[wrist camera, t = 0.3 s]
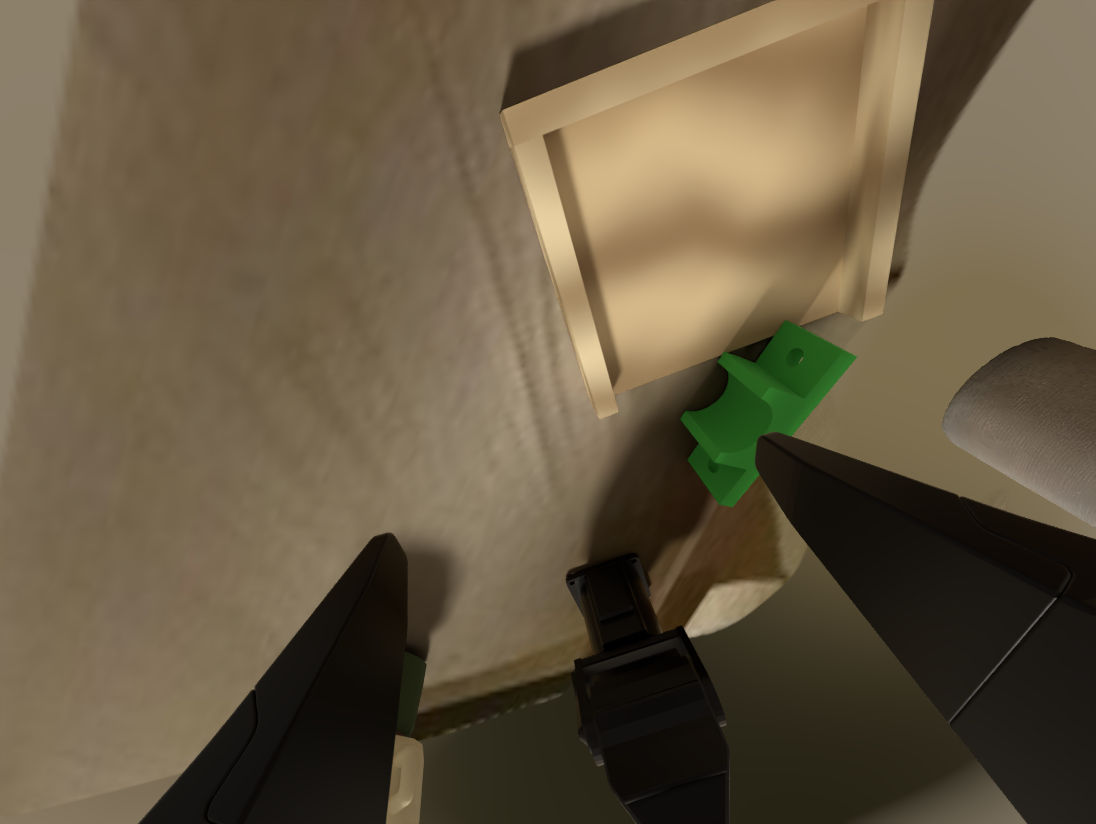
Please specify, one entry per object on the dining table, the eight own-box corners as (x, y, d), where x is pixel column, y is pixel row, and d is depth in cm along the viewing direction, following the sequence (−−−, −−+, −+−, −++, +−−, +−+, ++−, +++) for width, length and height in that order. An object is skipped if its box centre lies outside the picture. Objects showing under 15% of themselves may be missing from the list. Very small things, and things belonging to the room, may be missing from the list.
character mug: (387, 618, 33) (348, 842, 22) (459, 639, 36) (455, 842, 25) (322, 682, 36) (260, 904, 25) (394, 695, 40) (366, 897, 29)
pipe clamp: (752, 305, 23) (808, 335, 19) (796, 324, 24) (858, 356, 21) (657, 453, 28) (687, 500, 24) (698, 463, 30) (733, 508, 26)
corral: (854, 303, 24) (882, 314, 23) (590, 401, 25) (599, 419, 23) (895, -45, 16) (945, -69, 14) (499, 115, 17) (502, 110, 15)
